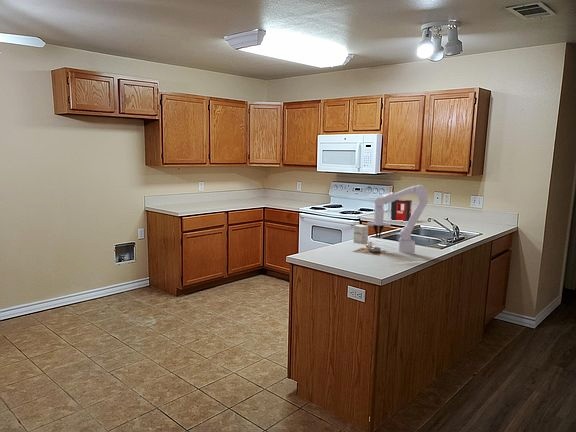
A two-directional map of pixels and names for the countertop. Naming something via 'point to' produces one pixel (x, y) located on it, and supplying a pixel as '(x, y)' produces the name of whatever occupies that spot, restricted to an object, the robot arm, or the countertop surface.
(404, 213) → the cleaning product box
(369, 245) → the capstan dial
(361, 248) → the stand base
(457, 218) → the countertop surface
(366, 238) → the supplement box
